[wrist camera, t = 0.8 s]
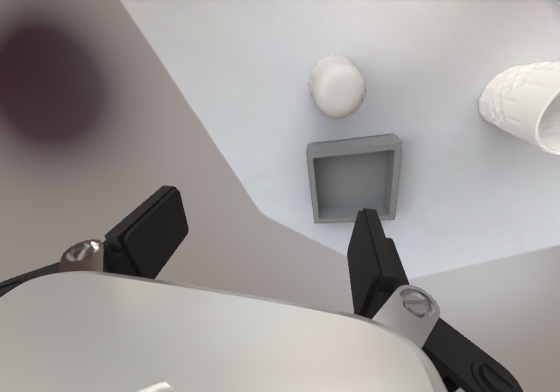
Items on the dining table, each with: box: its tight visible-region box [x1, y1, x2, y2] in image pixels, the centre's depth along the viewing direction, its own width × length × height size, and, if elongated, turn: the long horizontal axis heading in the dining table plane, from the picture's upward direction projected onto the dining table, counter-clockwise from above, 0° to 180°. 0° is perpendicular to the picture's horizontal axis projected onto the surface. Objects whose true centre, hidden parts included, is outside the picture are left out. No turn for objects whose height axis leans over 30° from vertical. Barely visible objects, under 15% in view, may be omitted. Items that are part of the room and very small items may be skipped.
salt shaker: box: [308, 54, 366, 118], centre depth 24 cm, size 6×6×13 cm
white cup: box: [479, 61, 560, 156], centre depth 24 cm, size 8×8×10 cm
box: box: [306, 134, 402, 224], centre depth 34 cm, size 12×12×4 cm
